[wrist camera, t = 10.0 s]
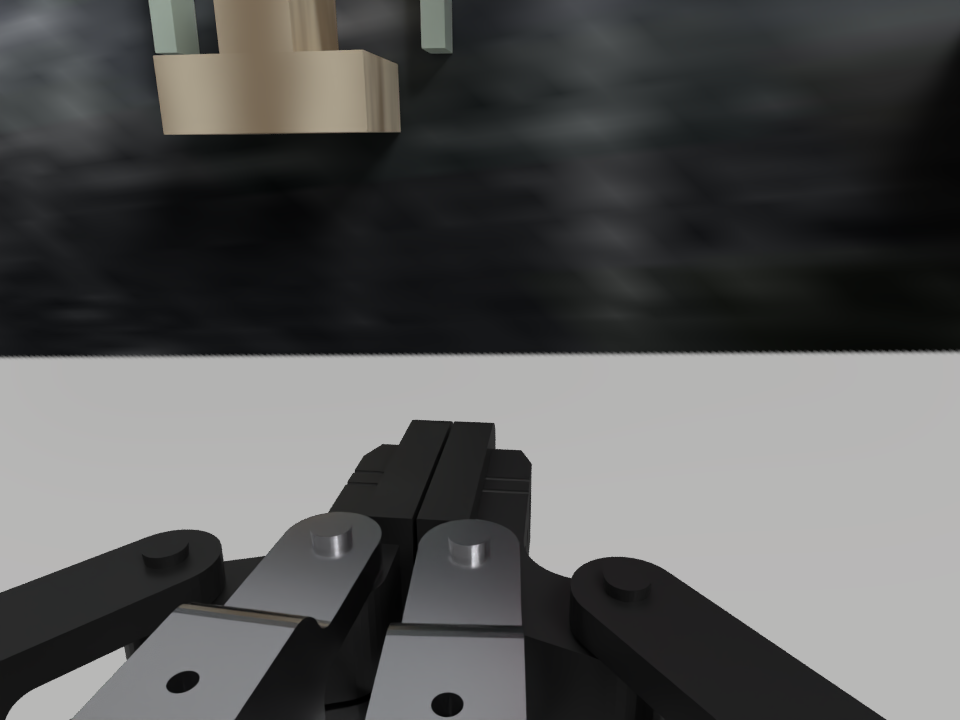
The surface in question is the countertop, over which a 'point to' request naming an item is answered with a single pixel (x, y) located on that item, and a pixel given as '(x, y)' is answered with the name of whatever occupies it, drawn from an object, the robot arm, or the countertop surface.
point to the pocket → (180, 34)
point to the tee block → (277, 76)
